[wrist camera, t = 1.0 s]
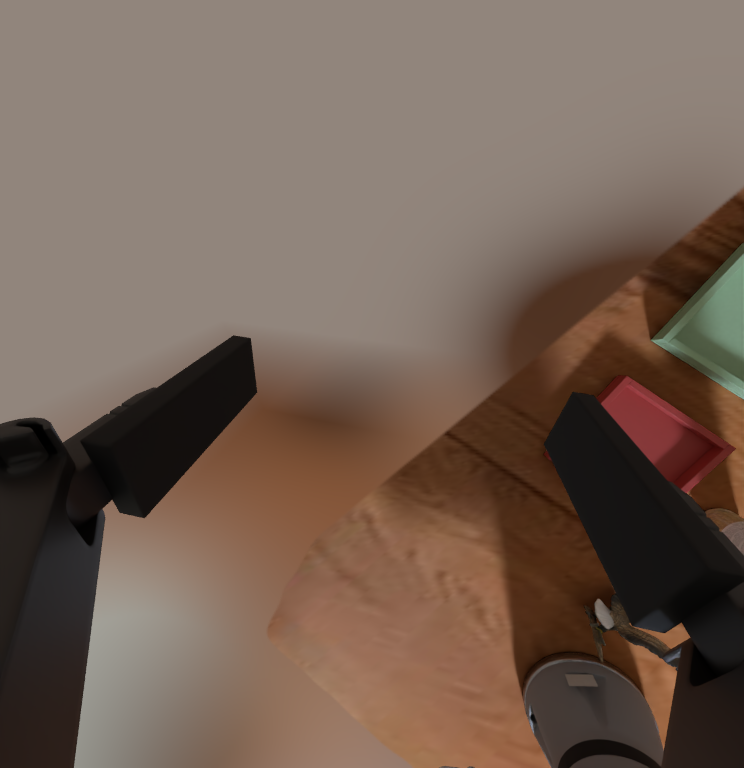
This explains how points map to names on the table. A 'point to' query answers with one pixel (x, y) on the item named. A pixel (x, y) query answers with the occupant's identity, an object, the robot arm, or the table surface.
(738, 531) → the sprinkles bottle
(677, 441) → the red tray
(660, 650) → the eagle figurine
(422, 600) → the table surface
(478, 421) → the table surface
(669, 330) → the green tray
